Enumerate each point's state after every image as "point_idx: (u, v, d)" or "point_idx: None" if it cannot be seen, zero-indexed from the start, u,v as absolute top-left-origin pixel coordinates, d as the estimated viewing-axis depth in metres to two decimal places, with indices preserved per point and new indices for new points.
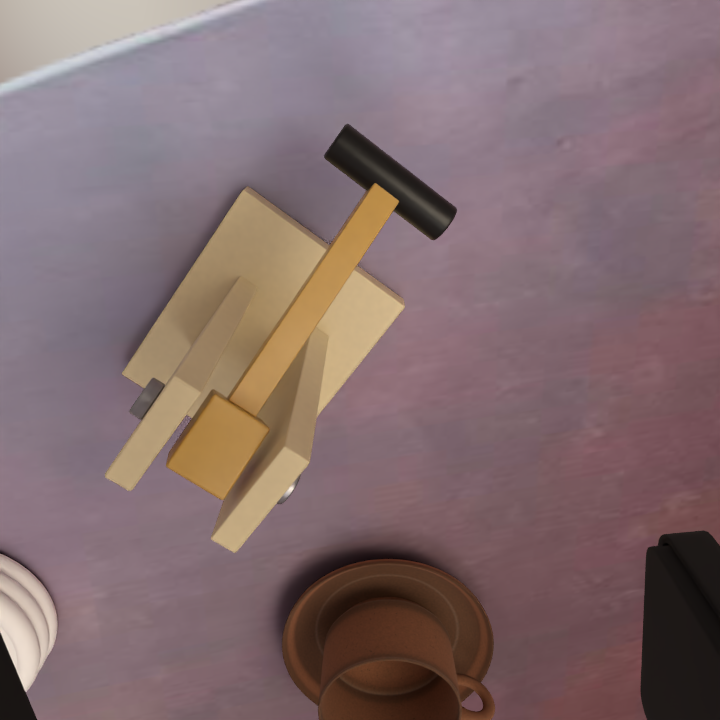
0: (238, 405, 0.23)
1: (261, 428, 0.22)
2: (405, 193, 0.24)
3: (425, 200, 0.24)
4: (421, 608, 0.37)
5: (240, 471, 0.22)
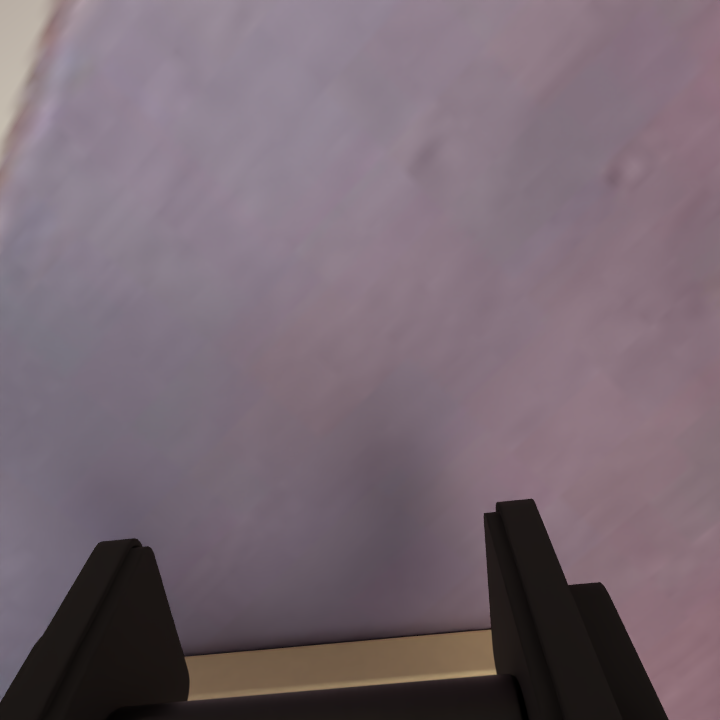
0: None
1: None
2: None
3: None
4: None
5: None
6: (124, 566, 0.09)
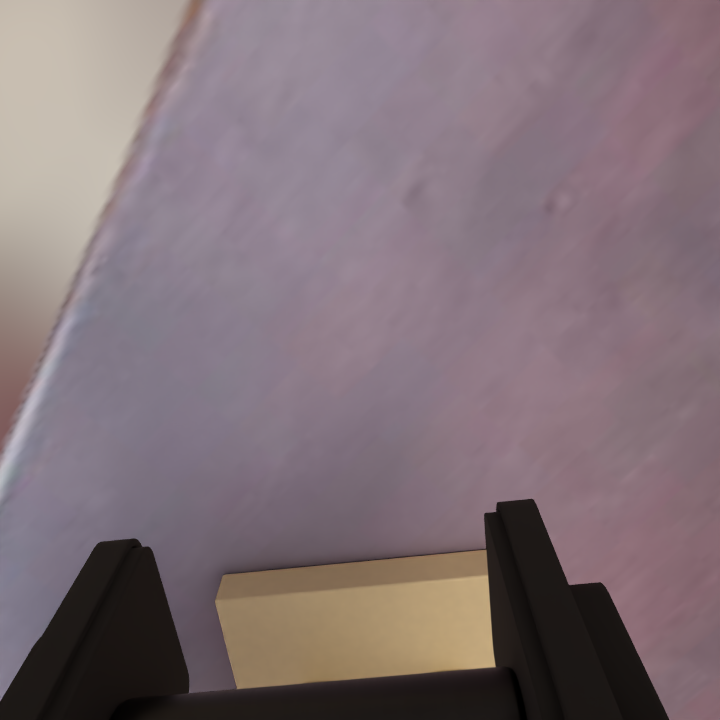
0: None
1: None
2: None
3: None
4: None
5: None
6: (123, 566, 0.09)
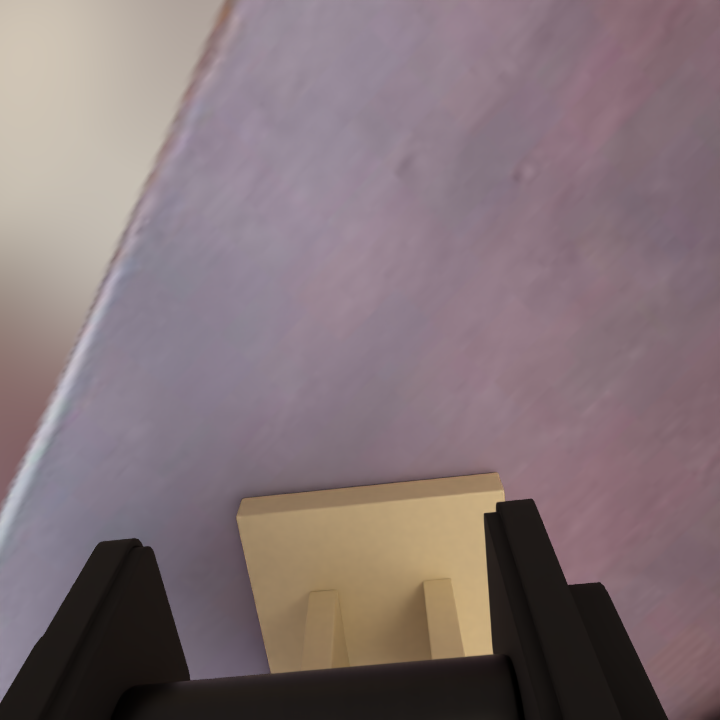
0: None
1: None
2: None
3: None
4: None
5: None
6: (124, 566, 0.09)
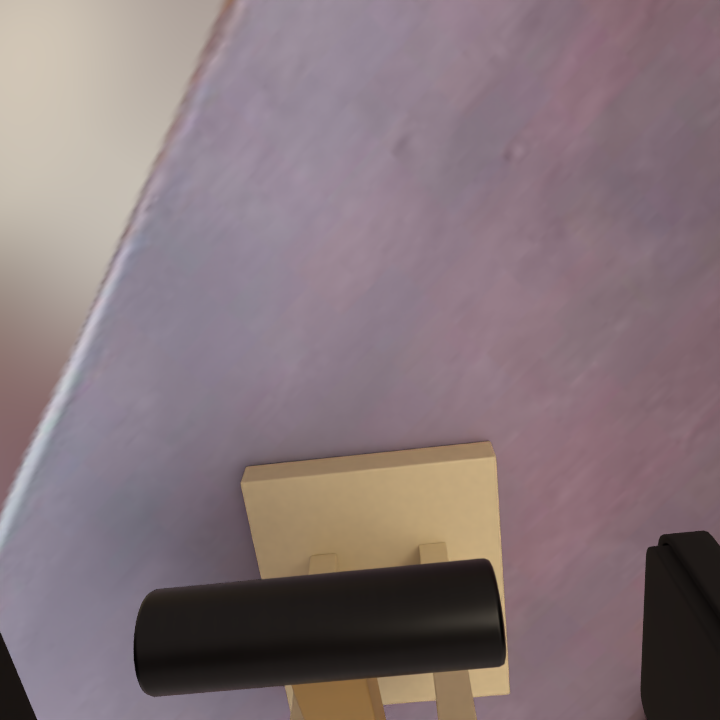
0: None
1: None
2: (362, 675, 0.09)
3: (414, 667, 0.09)
4: None
5: None
6: None
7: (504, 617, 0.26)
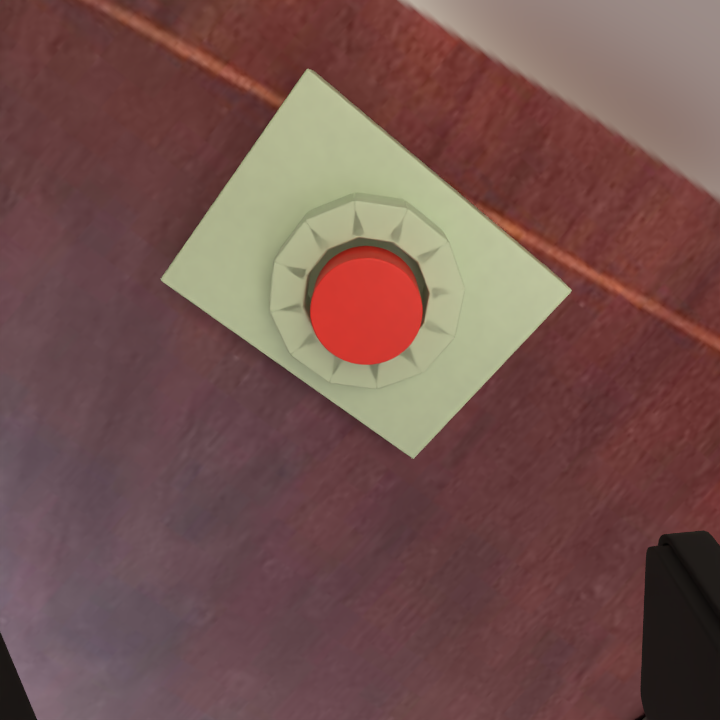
0: None
1: None
2: None
3: None
4: None
5: None
6: None
7: None
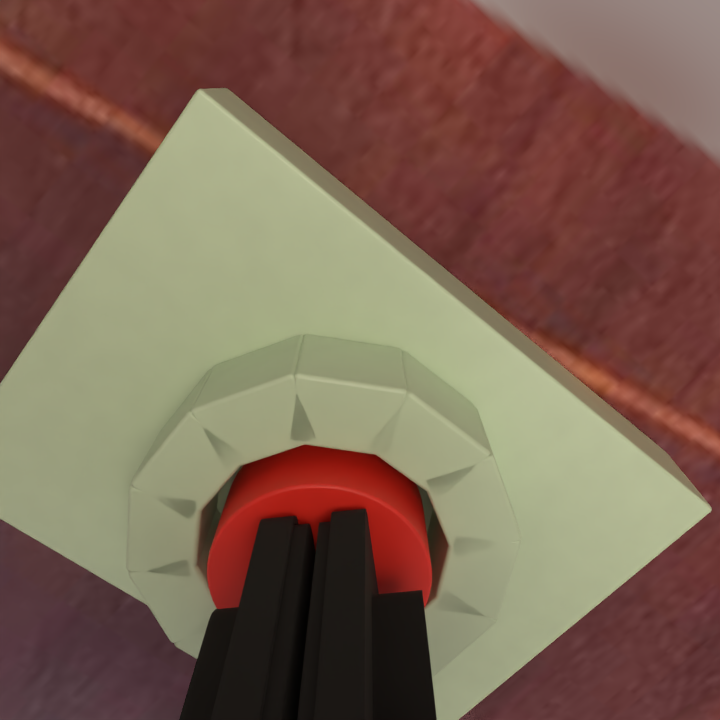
0: None
1: None
2: None
3: None
4: None
5: None
6: (294, 542, 0.09)
7: None
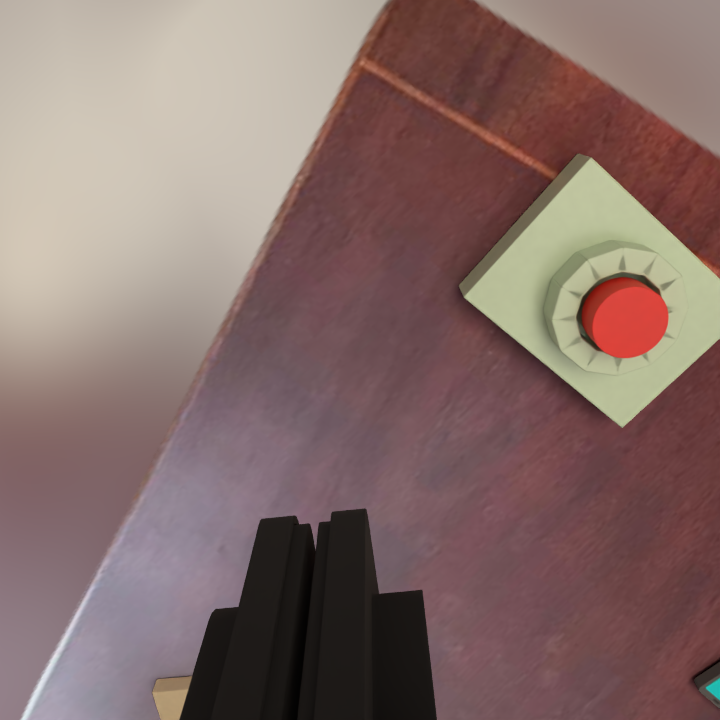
0: None
1: None
2: None
3: None
4: None
5: None
6: (294, 542, 0.09)
7: None
